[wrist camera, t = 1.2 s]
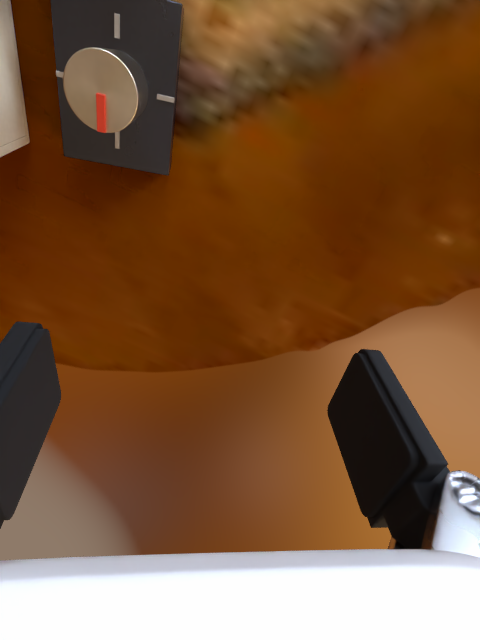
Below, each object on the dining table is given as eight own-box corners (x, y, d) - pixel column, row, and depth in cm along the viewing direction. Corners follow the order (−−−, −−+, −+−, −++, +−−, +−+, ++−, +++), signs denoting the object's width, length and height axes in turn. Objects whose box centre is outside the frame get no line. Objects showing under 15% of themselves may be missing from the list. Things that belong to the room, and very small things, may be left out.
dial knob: (83, 41, 26) (57, 37, 21) (149, 58, 27) (138, 57, 22) (86, 114, 28) (64, 125, 24) (146, 127, 29) (136, 140, 25)
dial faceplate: (61, -26, 26) (46, -35, 23) (184, 8, 27) (182, 3, 25) (74, 149, 33) (63, 156, 30) (170, 167, 34) (168, 176, 32)
